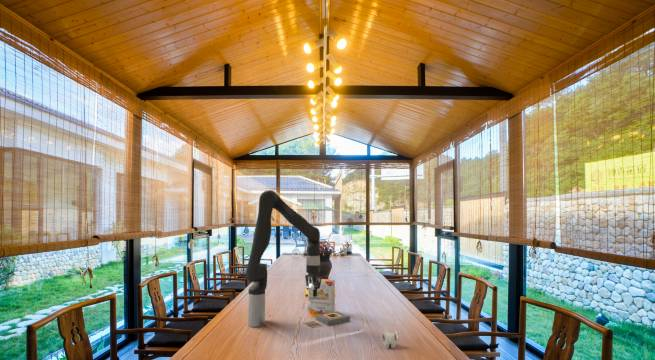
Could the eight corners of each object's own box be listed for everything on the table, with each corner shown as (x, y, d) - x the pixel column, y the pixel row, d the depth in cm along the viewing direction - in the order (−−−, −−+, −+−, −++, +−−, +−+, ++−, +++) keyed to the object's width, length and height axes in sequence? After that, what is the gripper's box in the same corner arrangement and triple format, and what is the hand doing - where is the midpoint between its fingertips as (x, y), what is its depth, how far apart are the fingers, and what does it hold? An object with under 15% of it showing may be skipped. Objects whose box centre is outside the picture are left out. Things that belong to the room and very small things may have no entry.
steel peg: (307, 298, 204) (308, 283, 204) (314, 297, 206) (314, 282, 206) (311, 299, 200) (311, 284, 201) (317, 298, 203) (318, 284, 203)
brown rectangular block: (302, 325, 204) (302, 323, 204) (313, 323, 208) (313, 321, 208) (312, 331, 196) (312, 328, 196) (323, 328, 200) (323, 325, 200)
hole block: (315, 322, 210) (315, 315, 210) (337, 318, 218) (337, 310, 218) (327, 328, 200) (327, 320, 200) (349, 323, 208) (349, 315, 208)
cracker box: (310, 315, 225) (310, 280, 226) (313, 312, 230) (313, 278, 232) (332, 317, 220) (332, 281, 222) (335, 314, 226) (334, 279, 228)
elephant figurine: (394, 342, 180) (394, 327, 180) (399, 350, 170) (399, 334, 171) (379, 342, 179) (379, 327, 180) (382, 350, 170) (382, 334, 170)
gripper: (300, 262, 208) (300, 293, 207) (314, 266, 196) (313, 299, 195) (312, 261, 212) (312, 292, 211) (325, 264, 201) (325, 297, 199)
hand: (312, 295), depth 203 cm, fingers closed on steel peg, 4 cm apart
